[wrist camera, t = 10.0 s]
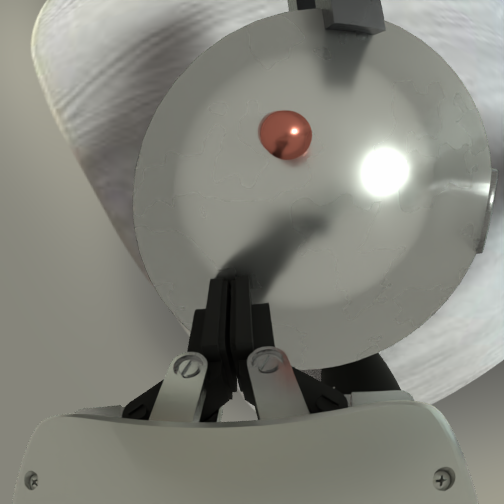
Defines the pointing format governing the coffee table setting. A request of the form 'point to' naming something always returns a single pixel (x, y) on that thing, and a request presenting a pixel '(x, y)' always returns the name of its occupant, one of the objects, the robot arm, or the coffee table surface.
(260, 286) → the lid
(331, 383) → the mug
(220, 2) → the coffee table surface
